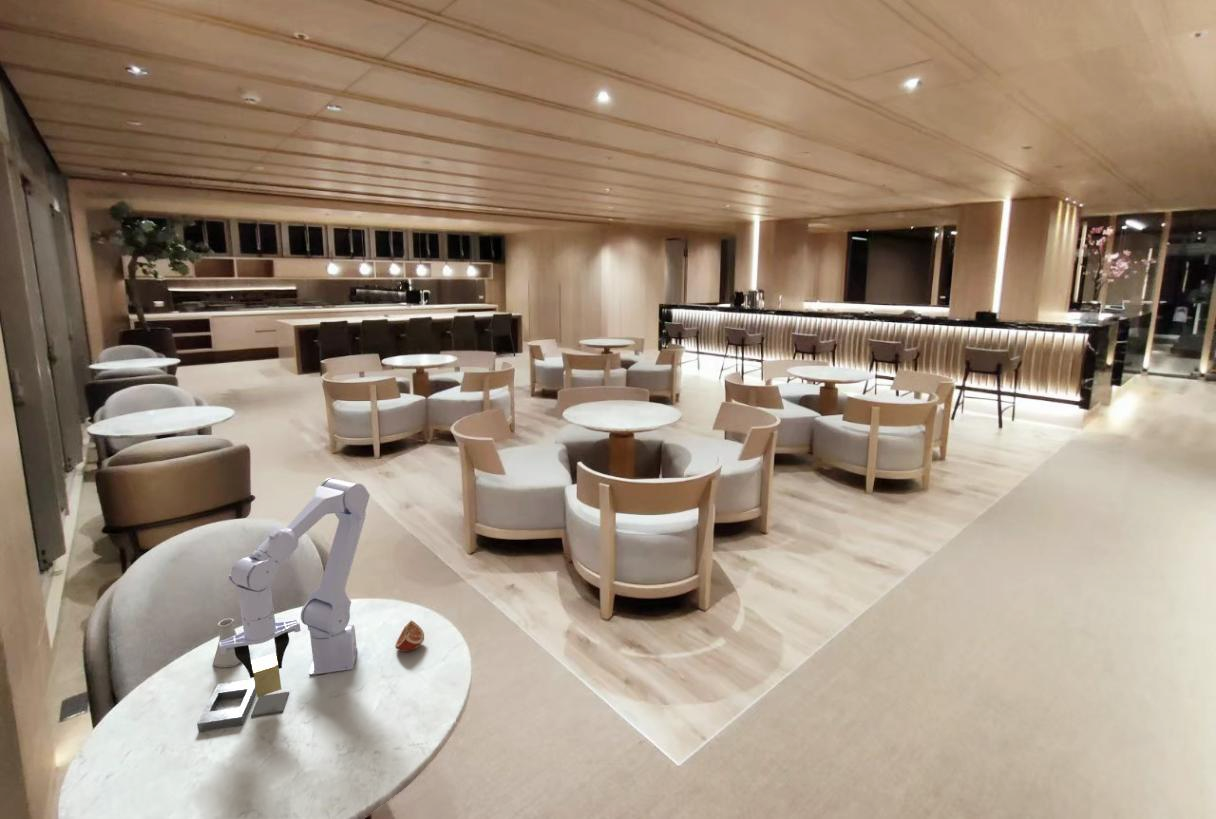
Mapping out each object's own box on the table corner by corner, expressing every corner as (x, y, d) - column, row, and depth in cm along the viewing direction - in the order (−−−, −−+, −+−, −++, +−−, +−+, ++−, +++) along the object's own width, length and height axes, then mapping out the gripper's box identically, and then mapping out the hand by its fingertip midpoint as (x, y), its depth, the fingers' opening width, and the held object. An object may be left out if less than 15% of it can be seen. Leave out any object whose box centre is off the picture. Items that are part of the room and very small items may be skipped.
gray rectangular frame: (259, 686, 137) (258, 678, 136) (242, 725, 125) (241, 716, 125) (218, 691, 135) (217, 684, 134) (198, 732, 123) (197, 723, 123)
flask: (255, 650, 149) (250, 614, 146) (235, 670, 142) (229, 632, 139) (228, 648, 149) (222, 612, 147) (206, 667, 142) (199, 630, 140)
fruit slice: (400, 637, 155) (398, 620, 154) (427, 635, 156) (426, 618, 154) (392, 658, 147) (391, 640, 145) (421, 656, 147) (420, 638, 146)
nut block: (278, 677, 133) (275, 653, 131) (281, 689, 129) (278, 664, 128) (254, 685, 130) (251, 660, 129) (257, 697, 127) (253, 672, 125)
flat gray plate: (289, 693, 135) (289, 691, 134) (282, 712, 129) (282, 710, 129) (259, 697, 133) (258, 696, 133) (251, 717, 127) (250, 715, 127)
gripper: (293, 594, 133) (300, 648, 136) (215, 615, 125) (224, 672, 128) (299, 609, 127) (306, 665, 130) (217, 632, 119) (226, 691, 122)
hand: (265, 670), depth 129 cm, fingers closed on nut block, 4 cm apart
